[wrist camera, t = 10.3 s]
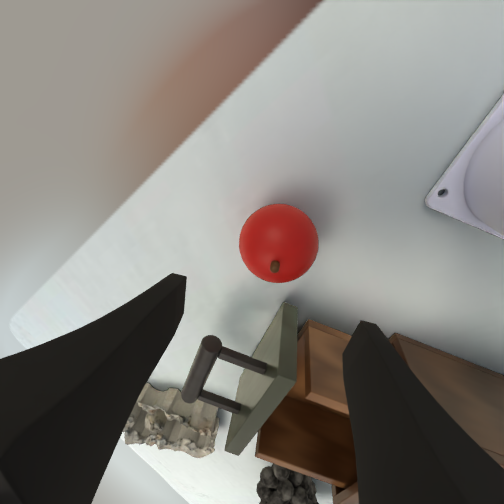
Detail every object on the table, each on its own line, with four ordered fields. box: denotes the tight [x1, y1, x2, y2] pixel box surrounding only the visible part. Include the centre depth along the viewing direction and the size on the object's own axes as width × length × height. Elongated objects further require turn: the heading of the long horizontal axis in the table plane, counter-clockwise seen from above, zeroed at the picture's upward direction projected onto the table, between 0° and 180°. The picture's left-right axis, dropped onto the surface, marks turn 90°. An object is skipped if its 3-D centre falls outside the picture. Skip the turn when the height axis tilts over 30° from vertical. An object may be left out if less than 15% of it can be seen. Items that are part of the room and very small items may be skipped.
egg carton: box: [123, 383, 219, 458], centre depth 30 cm, size 11×8×4 cm
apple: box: [239, 204, 318, 283], centre depth 16 cm, size 5×5×5 cm
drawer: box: [181, 302, 357, 489], centre depth 21 cm, size 18×10×6 cm, turn 70°
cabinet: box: [332, 333, 504, 504], centre depth 22 cm, size 14×12×8 cm
